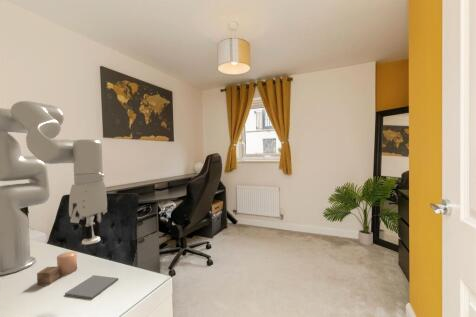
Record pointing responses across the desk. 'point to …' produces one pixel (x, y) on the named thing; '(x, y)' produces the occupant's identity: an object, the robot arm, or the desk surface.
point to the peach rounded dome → (67, 263)
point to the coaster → (91, 287)
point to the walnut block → (47, 275)
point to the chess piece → (94, 237)
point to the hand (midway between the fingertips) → (91, 236)
